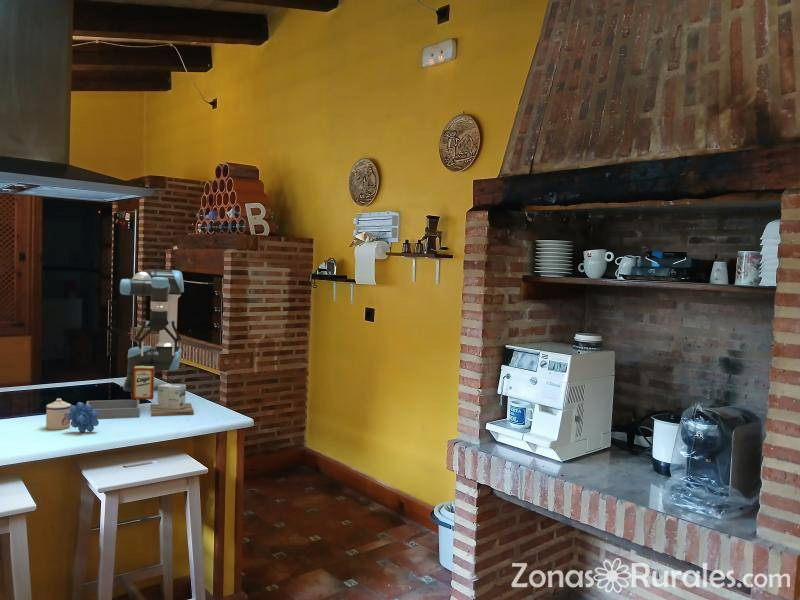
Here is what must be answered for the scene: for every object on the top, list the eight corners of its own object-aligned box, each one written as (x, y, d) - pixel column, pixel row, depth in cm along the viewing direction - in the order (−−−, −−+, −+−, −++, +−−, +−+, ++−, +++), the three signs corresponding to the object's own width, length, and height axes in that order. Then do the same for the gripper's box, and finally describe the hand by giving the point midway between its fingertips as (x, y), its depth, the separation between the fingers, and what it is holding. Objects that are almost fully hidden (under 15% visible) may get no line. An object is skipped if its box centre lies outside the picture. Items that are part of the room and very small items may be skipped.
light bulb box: (185, 407, 293) (186, 384, 293) (179, 410, 287) (180, 386, 286) (163, 405, 294) (164, 382, 294) (156, 408, 288) (157, 385, 287)
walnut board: (150, 407, 295) (150, 404, 295) (190, 406, 302) (190, 403, 302) (151, 416, 279) (151, 413, 279) (193, 414, 286) (193, 411, 286)
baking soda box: (153, 396, 320) (154, 365, 319) (152, 399, 314) (153, 367, 313) (133, 396, 317) (134, 365, 316) (132, 399, 311) (133, 367, 310)
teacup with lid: (65, 430, 250) (66, 401, 249) (41, 430, 248) (42, 401, 248) (76, 423, 262) (77, 395, 261) (53, 422, 260) (54, 394, 260)
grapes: (63, 434, 243) (63, 404, 243) (69, 430, 250) (69, 400, 249) (95, 434, 245) (96, 404, 245) (100, 430, 252) (101, 401, 251)
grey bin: (86, 409, 285) (87, 400, 285) (139, 407, 294) (139, 399, 294) (83, 419, 268) (83, 410, 268) (139, 417, 276) (139, 408, 276)
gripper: (130, 310, 283) (128, 357, 284) (188, 311, 293) (186, 356, 295) (129, 309, 290) (128, 354, 291) (186, 309, 300) (184, 353, 302)
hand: (157, 355), depth 293 cm, fingers open, 13 cm apart
